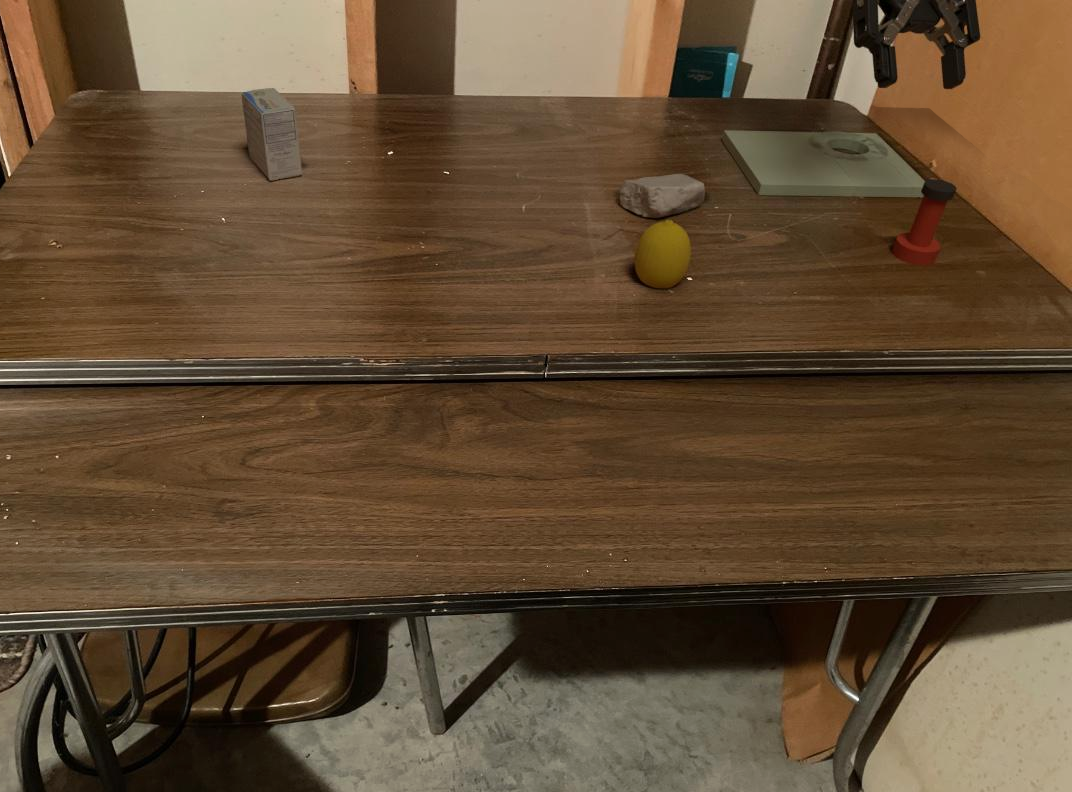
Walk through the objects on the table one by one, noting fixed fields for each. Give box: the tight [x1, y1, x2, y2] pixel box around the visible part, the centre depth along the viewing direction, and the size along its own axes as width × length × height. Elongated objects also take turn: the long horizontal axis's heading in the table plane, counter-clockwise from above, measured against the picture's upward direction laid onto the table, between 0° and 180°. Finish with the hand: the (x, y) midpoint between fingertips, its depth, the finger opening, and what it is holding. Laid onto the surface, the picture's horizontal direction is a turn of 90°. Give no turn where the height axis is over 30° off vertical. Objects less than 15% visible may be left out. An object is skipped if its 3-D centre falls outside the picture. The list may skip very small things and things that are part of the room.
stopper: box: [891, 178, 958, 266], centre depth 99 cm, size 5×5×10 cm
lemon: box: [634, 219, 692, 290], centre depth 93 cm, size 6×6×8 cm
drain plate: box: [721, 129, 926, 199], centre depth 122 cm, size 22×18×2 cm
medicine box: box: [241, 87, 303, 182], centre depth 113 cm, size 8×4×9 cm, turn 28°
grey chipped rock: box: [619, 173, 706, 219], centre depth 110 cm, size 10×6×6 cm, turn 109°
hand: (921, 86), depth 98 cm, fingers open, 8 cm apart
